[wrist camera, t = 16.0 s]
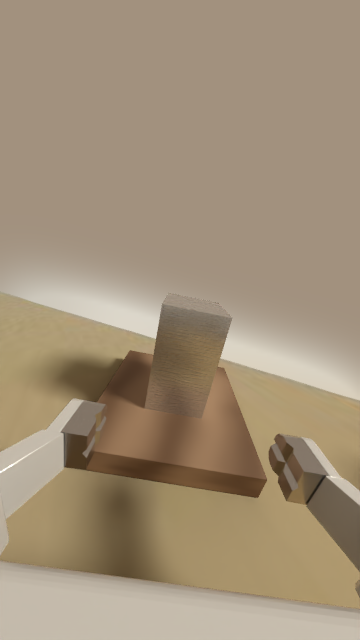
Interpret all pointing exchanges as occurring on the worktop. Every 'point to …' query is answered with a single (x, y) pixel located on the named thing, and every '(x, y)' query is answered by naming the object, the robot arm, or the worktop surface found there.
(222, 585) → the worktop surface
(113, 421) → the wooden base with peg
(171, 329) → the tall wooden block
